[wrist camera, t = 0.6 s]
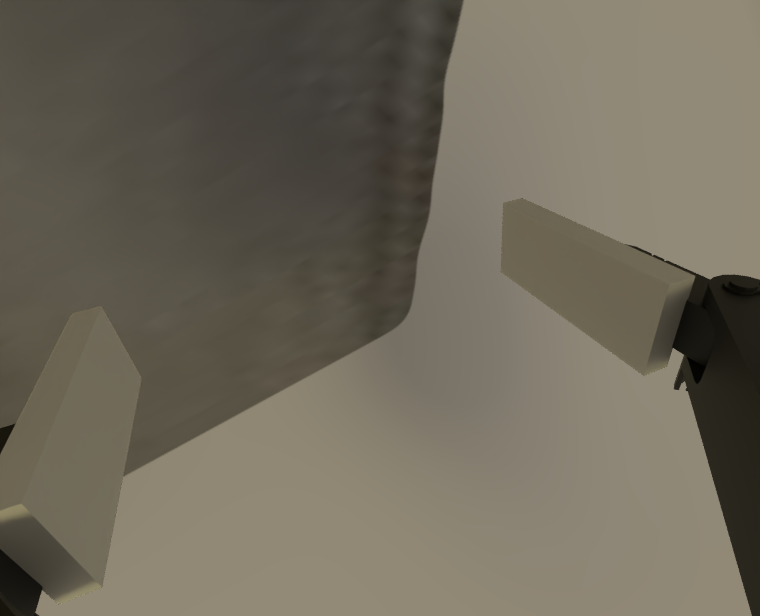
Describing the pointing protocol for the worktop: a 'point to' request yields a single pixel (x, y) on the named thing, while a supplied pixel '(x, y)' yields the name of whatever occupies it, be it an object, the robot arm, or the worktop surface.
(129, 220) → the worktop surface
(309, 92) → the worktop surface
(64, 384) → the robot arm
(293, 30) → the worktop surface
